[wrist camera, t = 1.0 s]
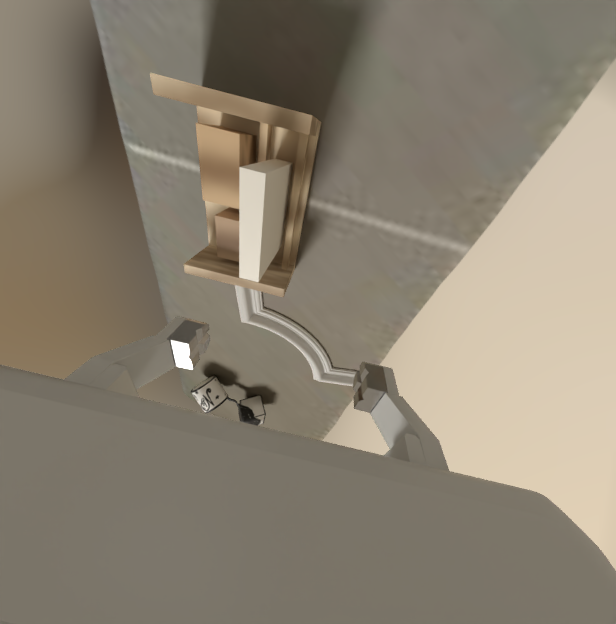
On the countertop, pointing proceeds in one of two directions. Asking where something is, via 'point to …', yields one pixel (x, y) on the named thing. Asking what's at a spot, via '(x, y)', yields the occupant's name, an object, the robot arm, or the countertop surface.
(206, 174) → the oak offcut
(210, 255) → the offcut rack
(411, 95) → the countertop surface
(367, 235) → the countertop surface
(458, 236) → the countertop surface
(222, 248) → the walnut offcut
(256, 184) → the white square panel
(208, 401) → the patterned dumbbell
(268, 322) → the molding
